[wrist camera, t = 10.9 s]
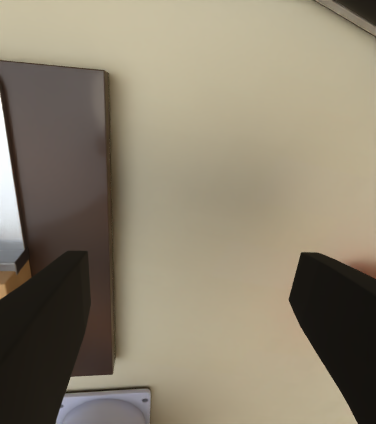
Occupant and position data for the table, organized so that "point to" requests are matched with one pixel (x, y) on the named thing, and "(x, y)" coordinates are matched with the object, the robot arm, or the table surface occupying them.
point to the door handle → (355, 12)
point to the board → (66, 183)
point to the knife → (10, 215)
